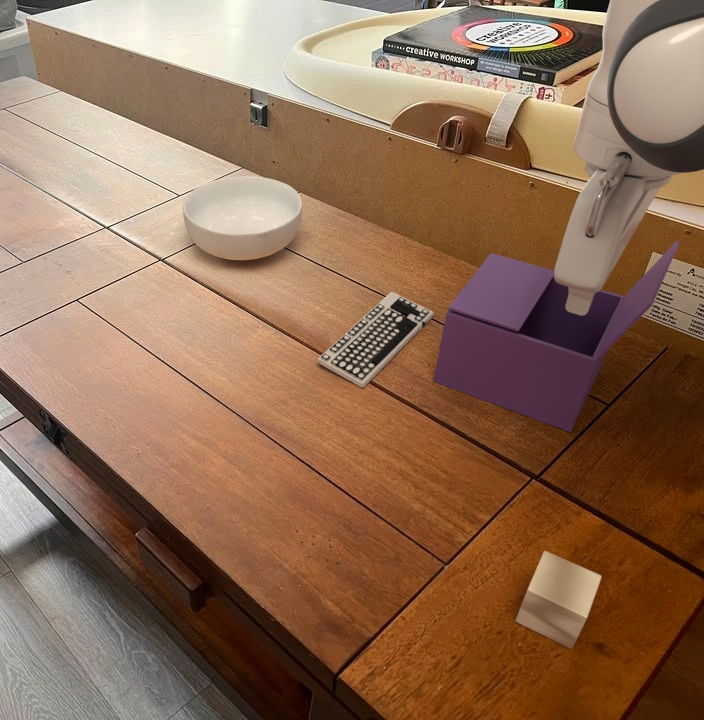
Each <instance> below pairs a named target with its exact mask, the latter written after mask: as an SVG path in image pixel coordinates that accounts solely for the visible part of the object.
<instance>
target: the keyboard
mask: <svg viewBox="0 0 704 720" xmlns="http://www.w3.org/2000/svg"><path fill="white" fill-rule="evenodd" d="M434 317H435V312H434V311H432V310H430V309H428V308H427V307H424V306H422V305H420V304H418V303H416V302H414V301H411V299H408V298H406V297H404V296H401V295H399V294H398V293H396V292H394V291H390V292H389V293H388V294H387V295H386V296H385V297H384V298H382V299H381V301H379V302H378V303H377V304H376V305H375V306H374V307H373V308H371V309H370V310H369V311H368V312H367V313H366V314H364V316H363V317H362V318H360V320H359V321H357V322H356V323H355V324H354V325H353V326H352V327H351V328H350V329H349V330H348V331H346V332H345V333H344V334H343V335H342V336H341V337H340V338H338V339H337V341H335V342H334V343H333V344H332V345H331V346H330V347H329V348H327V350H325V352H324V353H322V354H321V355H320V356H319V357H318V358H317V359H316V360H317V361H316V363H317V364H319V365H321V366H323V367H324V368H326V369H328V370H330V371H331V372H333V373H335V374H337V375H339V376H340V377H342V378H344V379H346V380H348V381H349V382H351V383H353V384H355V385H357V386H358V387H359V388H362V389H365V388H366V386H368V384H369V383H370V382H372V381H373V379H374V378H375V377H377V375H378V374H379V373H381V371H382V370H383V369H385V367H386V366H387V365H389V363H391V361H392V360H393V359H394V358H395V357H396V356H397V355H398V354H399V353H400V352H401V351H402V350H403V349H404V348H405V347H406V346H407V345H408V344H409V343H410V342H411V341H412V340H413V338H415V337H416V336H417V335H418V334H419V333H420V332H421V330H423V328H425V326H426V325H427V324H428V323H429V322H430V321H431V320H432V319H433V318H434Z"/></svg>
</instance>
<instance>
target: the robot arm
mask: <svg viewBox="0 0 704 720" xmlns="http://www.w3.org/2000/svg"><path fill="white" fill-rule="evenodd" d="M572 147H573V151H574V153H575V154H576V156H577V157H578V158H579V159H581V160H582V161H583V162H585V164H584V171H585V173H586V175H587V176H589V179H588V181H587V182H586V183H585V184H584V186H583V187H582V189H581V190H580V191H579V194H578V195H577V198H576V201H575V203H574V205H573V208H572V210H571V213H570V217H569V220H568V223H567V226H566V229H565V232H564V236H563V239H562V242H561V245H560V247H559V251H558V255H557V258H556V262H555V266H554V269H553V270H554V279H555V281H556V282H557V283H559V284H561V285H564V286H568V288H569V295H568V298H567V302H566V306H565V308H566V310H567V311H568V312H571V313H574V314H577V315H581V316H583V315H586V314H587V313H588V311H589V309H590V307H591V305H592V302H593V299H594V296H595V293H597V292H599V291H600V290H603V287H604V285H606V282H607V281H608V279H609V277H610V275H611V273H612V272H613V270H614V268H615V267H616V266H617V263H618V261H619V259H620V258H621V257H622V254H623V253H624V251H625V249H626V247H627V245H628V244H629V242H630V241H631V238H632V237H633V235H634V233H635V232H636V230H637V228H638V227H639V225H640V223H641V221H642V219H644V216H645V214H646V213H647V211H648V209H649V207H650V206H651V204H652V203H653V201H654V200H655V198H656V196H657V195H658V193H659V191H660V189H661V188H663V187H664V186H667V185H668V184H669V183H670V181H671V179H672V177H673V176H676V175H680V174H684V173H686V174H687V173H694V172H695V173H696V172H699V171H703V170H704V0H609V4H608V7H607V11H606V14H605V18H604V23H603V27H602V52H601V58H600V61H599V64H598V66H597V69H595V72H594V74H593V75H592V77H591V79H590V81H589V83H588V86H587V90H586V94H585V98H584V102H583V106H582V110H581V114H580V117H579V122H578V126H577V129H576V133H575V138H574V140H573V146H572Z"/></svg>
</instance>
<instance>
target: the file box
mask: <svg viewBox="0 0 704 720" xmlns="http://www.w3.org/2000/svg"><path fill="white" fill-rule="evenodd" d="M568 295H569V288H568V286H564V285H561V284H559V283H557V282H556V281H555V279H554V269H550V268H546V267H542V266H539V265H537V264H532V263H528V262H526V261H523V260H522V261H521V260H518V259H515V258H511V257H507V256H505V255H500V254H497V253H494V252H493V253H492V252H490V253H489V254H488V256H487V257H486V259H485V260H484V261H483V262H482V264H481V265H480V267H478V269H477V270H476V271H475V273H474V274H473V275H472V277H471V278H470V279H469V280H468V282H467V283H466V284H465V285H464V287H463V288H462V289H461V290H460V292H459V293H458V294H457V296H456V297H454V299H453V301H452V302H451V304H450V305H449V306H448V308H447V312H446V314H445V319H444V324H443V329H442V334H441V340H440V344H439V350H438V355H437V360H436V364H435V365H436V366H435V371H434V376H433V381H432V382H433V383H436V384H439V385H441V386H444V387H446V388H450V389H452V390H454V391H457V392H460V393H463V394H466V395H469V396H471V397H474V398H476V399H479V400H482V401H484V402H487V403H490V404H492V405H496V406H498V407H501V408H503V409H506V410H509V411H511V412H514V413H517V414H519V415H522V416H525V417H527V418H530V419H534V420H535V421H539V422H541V423H544V424H546V425H550V426H552V427H555V428H558V429H561V430H562V431H566V432H568V433H571V432H572V430H573V428H574V426H575V424H576V422H577V420H578V417H579V416H580V414H581V411H582V409H583V407H584V404H585V403H586V401H587V398H588V396H589V394H590V392H591V390H592V388H593V386H594V383H595V382H596V379H597V378H598V375H599V373H600V371H601V369H602V367H603V365H604V362H605V359H606V356H607V353H608V351H609V349H608V350H607V351H606V352H605V353H604V354H603V355H602V356H601V357H600V356H598V353H599V351H600V349H601V347H602V345H603V343H604V341H605V339H606V337H607V335H608V332H609V330H610V328H611V326H612V324H613V322H614V320H615V318H616V316H617V314H618V312H619V310H620V308H621V306H622V304H623V302H624V300H625V297H626V295H621V294H618V293H615V292H611V291H608V290H605V289H601V290H600V291H599V292H597V293H595V296H594V299H593V302H592V305H591V307H590V309H589V311H588V313H587V314H586V315H583V316H581V315H577V314H574V313H571V312H568V311H567V310H566V308H565V306H566V302H567V298H568Z"/></svg>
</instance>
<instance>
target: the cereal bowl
mask: <svg viewBox="0 0 704 720" xmlns="http://www.w3.org/2000/svg"><path fill="white" fill-rule="evenodd" d="M182 204H183V205H182V217H183V222H184V223H183V224H184V226H185V227H184V228H185V229H186V232H187V235H188V236H189V238H190V239H191V240H192V242H193V243H194V244H195V245H196V246H197V247H198V248H199V249H201V250H202V251H204V252H205V253H207V254H209V255H211V256H214V257H218V258H220V259H224V260H231V261H252V260H257V259H261V258H266V257H269V256H271V255H274V254H276V253H278V252H279V251H281V250H283V249H284V248H286V247H287V246H288V245H289V244H290V243H291V242H292V241H293V240H294V238H295V237H296V236H297V235H298V232H299V231H300V227H301V224H302V220H303V219H302V218H303V200H302V197H301V195H300V194H299V192H298V191H297V190H296V189H295V188H293V187H292V186H291V185H289V184H287V183H285V182H283V181H279V180H276V179H272V178H268V177H262V176H253V175H252V176H251V175H244V176H243V175H241V176H240V175H239V176H229V177H222V178H218V179H214V180H211V181H208V182H205V183H202V184H201V185H199V186H197V187H195V189H193V190H191V191H190V192H189V193H188V194H187V195H186V196H185V199H184V201H183V203H182Z"/></svg>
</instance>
